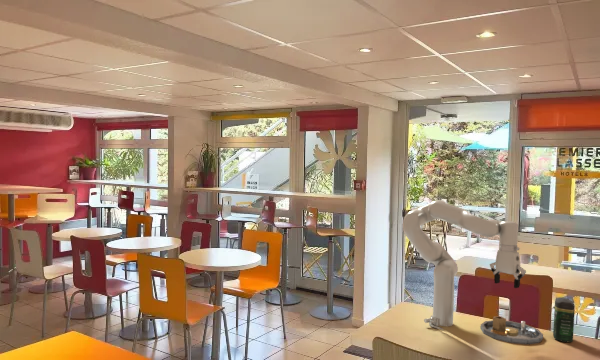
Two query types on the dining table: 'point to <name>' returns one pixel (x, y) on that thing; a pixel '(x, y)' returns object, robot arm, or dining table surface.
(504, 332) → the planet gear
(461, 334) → the dining table surface
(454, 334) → the dining table surface
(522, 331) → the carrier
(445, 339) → the dining table surface
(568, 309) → the coffee jar
